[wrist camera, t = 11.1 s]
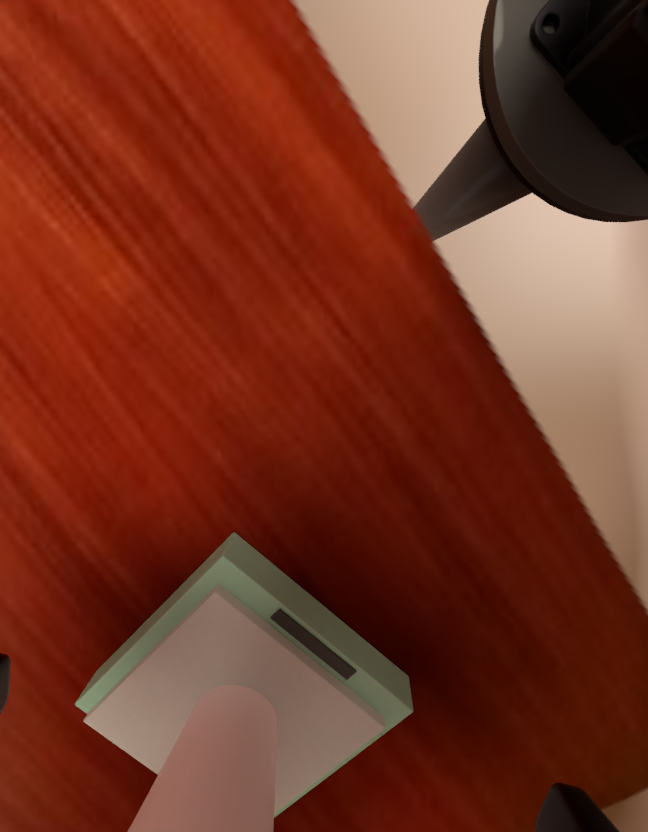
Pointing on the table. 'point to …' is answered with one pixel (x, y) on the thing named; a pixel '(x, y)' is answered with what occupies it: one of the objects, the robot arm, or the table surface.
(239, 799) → the smoothie
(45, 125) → the table surface
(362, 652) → the scale
